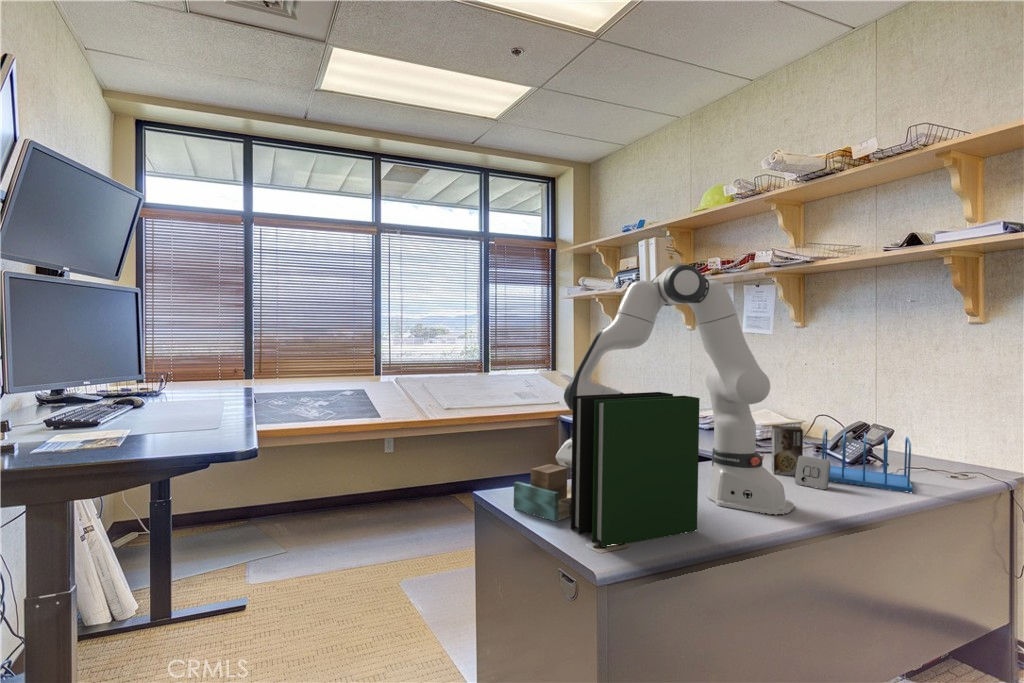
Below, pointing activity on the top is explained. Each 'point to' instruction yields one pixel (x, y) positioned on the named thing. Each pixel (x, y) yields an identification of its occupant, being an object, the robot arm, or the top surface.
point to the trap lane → (541, 501)
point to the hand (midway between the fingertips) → (576, 481)
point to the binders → (634, 466)
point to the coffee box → (786, 449)
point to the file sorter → (870, 477)
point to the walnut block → (550, 479)
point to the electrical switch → (812, 472)
